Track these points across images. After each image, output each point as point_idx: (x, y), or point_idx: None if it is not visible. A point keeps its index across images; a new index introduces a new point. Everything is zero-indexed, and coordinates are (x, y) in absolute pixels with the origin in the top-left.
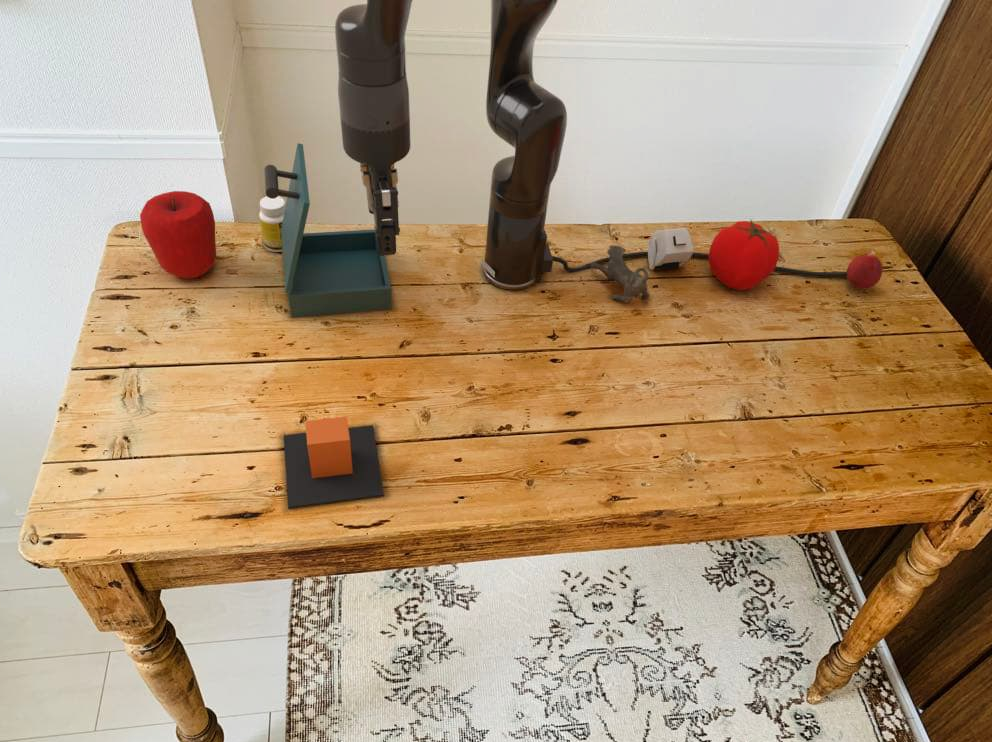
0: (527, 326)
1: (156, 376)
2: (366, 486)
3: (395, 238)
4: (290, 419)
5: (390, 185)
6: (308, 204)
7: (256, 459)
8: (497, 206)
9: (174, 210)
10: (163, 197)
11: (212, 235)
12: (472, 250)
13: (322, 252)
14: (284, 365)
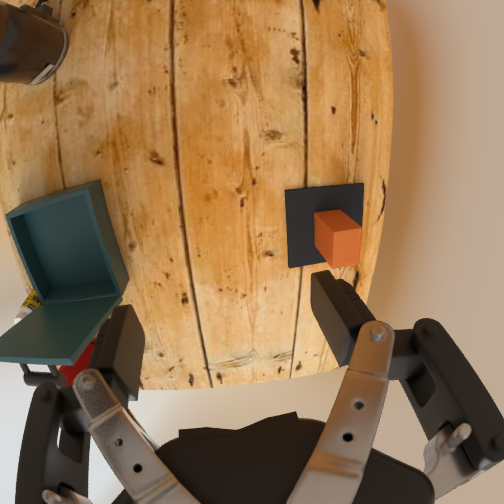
0: (128, 21)
1: (216, 355)
2: (354, 197)
3: (348, 299)
4: (268, 264)
5: (428, 477)
6: (71, 358)
7: (308, 282)
8: None
9: None
10: None
11: (80, 364)
12: (9, 104)
13: (40, 261)
14: (197, 277)
